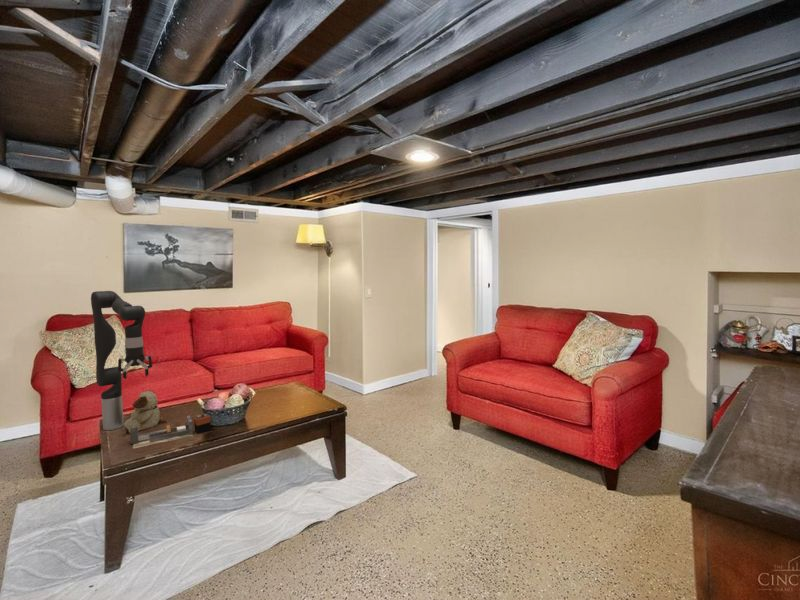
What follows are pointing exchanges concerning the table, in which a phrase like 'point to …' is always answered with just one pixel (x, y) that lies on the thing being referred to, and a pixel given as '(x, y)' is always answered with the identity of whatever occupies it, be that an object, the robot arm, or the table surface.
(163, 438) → the gauge board
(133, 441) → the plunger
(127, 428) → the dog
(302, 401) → the table surface
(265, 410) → the table surface
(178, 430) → the marker
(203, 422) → the battery
